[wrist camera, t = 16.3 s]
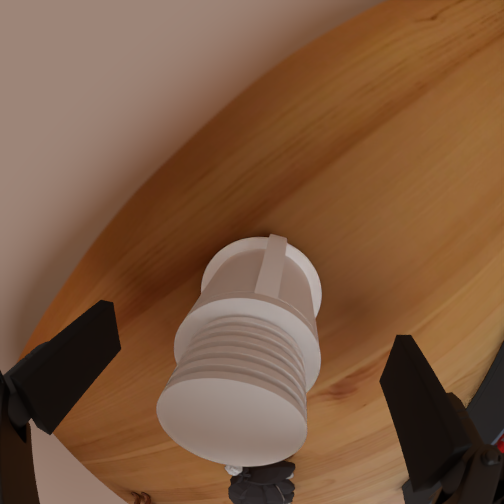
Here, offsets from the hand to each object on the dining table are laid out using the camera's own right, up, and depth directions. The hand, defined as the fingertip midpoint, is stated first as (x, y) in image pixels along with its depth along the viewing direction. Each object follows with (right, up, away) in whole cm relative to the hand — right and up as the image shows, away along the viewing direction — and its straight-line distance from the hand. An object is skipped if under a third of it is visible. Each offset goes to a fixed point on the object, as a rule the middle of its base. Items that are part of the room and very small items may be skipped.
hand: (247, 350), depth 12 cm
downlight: (+1, +2, +5) cm, 5 cm away
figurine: (+2, -19, +11) cm, 23 cm away
